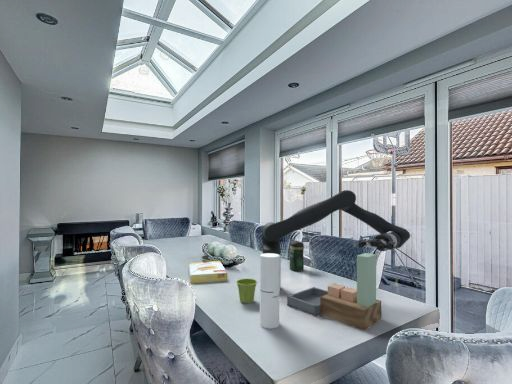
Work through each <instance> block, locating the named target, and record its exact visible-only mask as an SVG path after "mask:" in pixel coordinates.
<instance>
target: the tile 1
mask: <svg viewBox="0 0 512 384" xmlns="http://www.w3.org/2000/svg"><path fill="white" fill-rule="evenodd" d="M344 288H346V286H345V285H341V284H337V283H332V284H330V285H327V291H328V295H330V296H334V297H337V298H340V297H341V290H342V289H344Z"/></svg>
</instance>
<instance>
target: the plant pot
mask: <svg viewBox="0 0 512 384" xmlns="http://www.w3.org/2000/svg"><path fill="white" fill-rule="evenodd" d="M235 283H236V284H237V290H238V295H239V302H240V303H242V304H243V303H244V304H251V303H253V302H254V300H255V292H256V287H257V284H258V280H256V279H253V278H241V279H237V280H236V281H235Z"/></svg>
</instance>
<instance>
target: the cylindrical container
mask: <svg viewBox="0 0 512 384" xmlns="http://www.w3.org/2000/svg"><path fill="white" fill-rule="evenodd" d="M259 256H260V257H259V258H260V259H259V263H260V264H259V267H260V268H259V269H260V270H259V326H260V327H261V328H263V329H276V328H278V327H279V326H280V289H281V287H280V255H279V254H274V253H265V254H263V253H261V254H260V255H259Z"/></svg>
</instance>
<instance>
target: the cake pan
mask: <svg viewBox="0 0 512 384" xmlns="http://www.w3.org/2000/svg"><path fill="white" fill-rule="evenodd" d="M200 259H201V262H210V261H211V260H209V259H208V256H207V254H204V255H201V256H200ZM220 262H221V263H222V261H220ZM222 265H223V264H222Z"/></svg>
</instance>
